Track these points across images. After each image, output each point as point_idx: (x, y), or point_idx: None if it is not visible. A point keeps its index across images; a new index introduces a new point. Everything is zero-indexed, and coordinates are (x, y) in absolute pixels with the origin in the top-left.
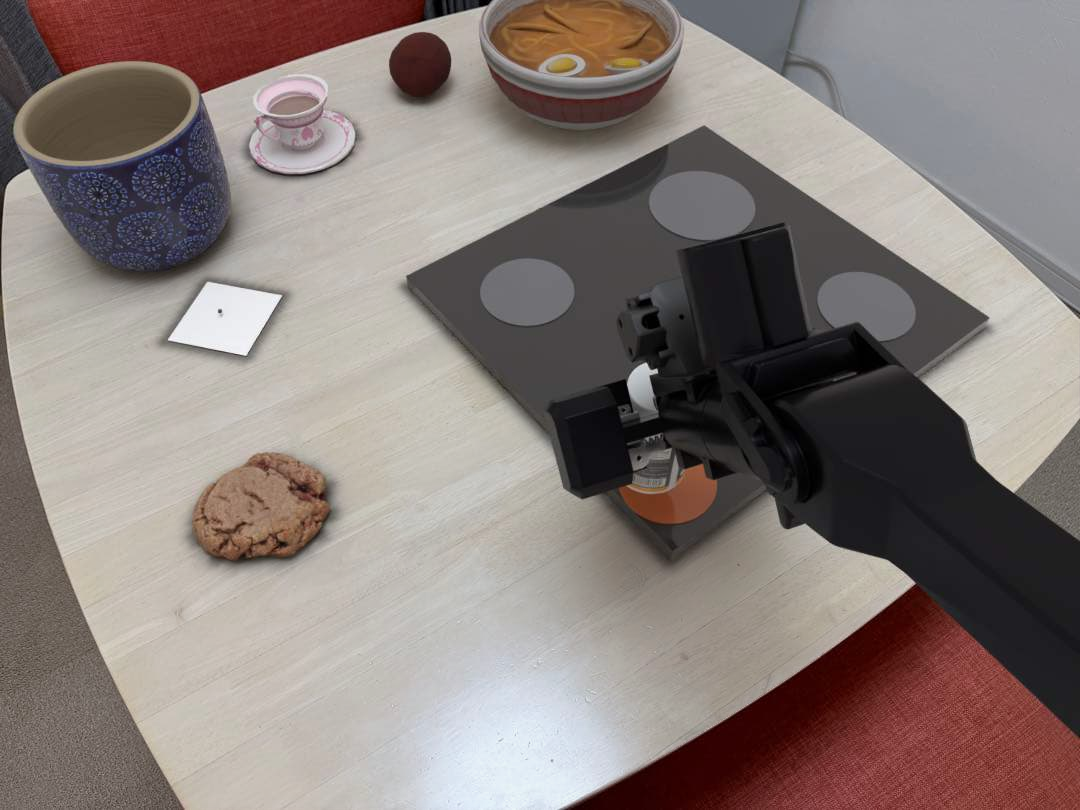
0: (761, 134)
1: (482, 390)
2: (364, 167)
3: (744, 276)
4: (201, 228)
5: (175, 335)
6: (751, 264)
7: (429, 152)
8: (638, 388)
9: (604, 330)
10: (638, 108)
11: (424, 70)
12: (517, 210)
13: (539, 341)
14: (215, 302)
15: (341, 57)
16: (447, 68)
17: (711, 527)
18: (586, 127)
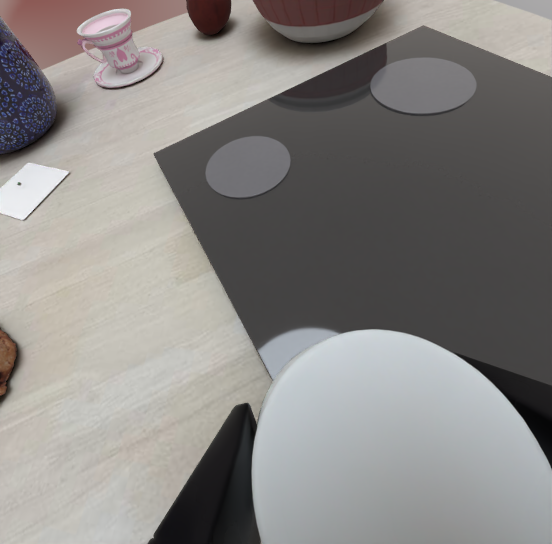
0: (473, 33)
1: (190, 261)
2: (161, 80)
3: None
4: (3, 116)
5: None
6: None
7: (207, 68)
8: (293, 472)
9: (313, 203)
10: (367, 8)
11: (206, 3)
12: (259, 102)
13: (247, 213)
14: (25, 177)
15: (172, 19)
16: (225, 4)
17: None
18: (322, 33)
